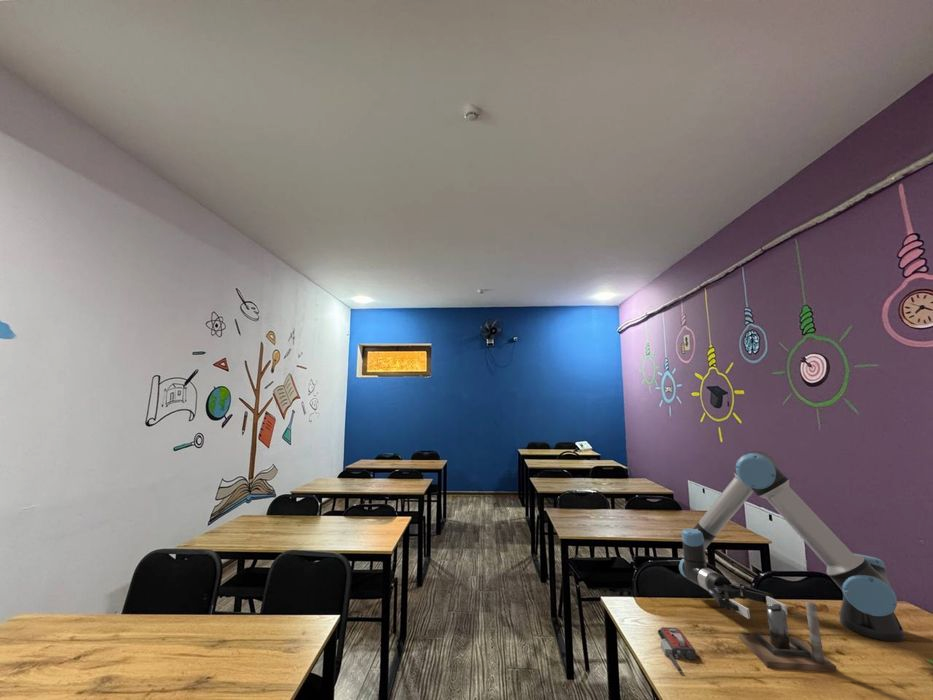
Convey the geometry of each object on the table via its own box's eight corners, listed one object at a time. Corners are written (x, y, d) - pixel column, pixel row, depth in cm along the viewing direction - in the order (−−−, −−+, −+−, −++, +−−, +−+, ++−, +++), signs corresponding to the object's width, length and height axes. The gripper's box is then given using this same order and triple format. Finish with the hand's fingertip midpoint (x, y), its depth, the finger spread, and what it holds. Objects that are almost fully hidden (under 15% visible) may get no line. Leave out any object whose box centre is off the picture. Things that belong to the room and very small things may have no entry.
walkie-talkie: (651, 635, 127) (676, 675, 108) (650, 620, 128) (674, 657, 109) (679, 636, 126) (709, 677, 107) (678, 621, 127) (707, 659, 107)
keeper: (803, 642, 122) (796, 586, 124) (840, 672, 108) (831, 607, 111) (739, 639, 124) (733, 583, 127) (767, 667, 110) (759, 604, 113)
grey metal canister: (780, 640, 120) (774, 600, 122) (794, 649, 116) (788, 607, 118) (767, 642, 120) (761, 601, 122) (780, 650, 115) (775, 608, 117)
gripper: (746, 591, 144) (802, 621, 123) (685, 596, 140) (733, 628, 119) (743, 569, 145) (799, 596, 124) (683, 574, 141) (731, 602, 121)
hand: (767, 612), depth 122 cm, fingers open, 13 cm apart
